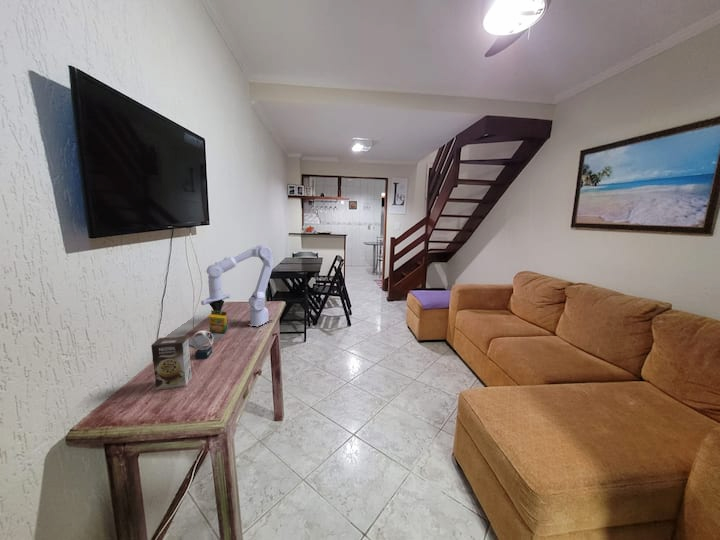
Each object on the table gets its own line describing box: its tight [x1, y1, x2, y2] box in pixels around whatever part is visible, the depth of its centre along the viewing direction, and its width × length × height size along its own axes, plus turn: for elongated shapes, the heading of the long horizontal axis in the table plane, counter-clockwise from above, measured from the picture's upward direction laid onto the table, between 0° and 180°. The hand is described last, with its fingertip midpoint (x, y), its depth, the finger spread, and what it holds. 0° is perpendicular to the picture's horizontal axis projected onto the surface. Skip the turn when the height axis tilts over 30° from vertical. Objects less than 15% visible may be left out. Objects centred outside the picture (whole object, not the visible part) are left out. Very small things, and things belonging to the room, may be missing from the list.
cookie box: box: [150, 335, 193, 391], centre depth 91 cm, size 9×6×16 cm
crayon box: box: [208, 309, 228, 334], centre depth 132 cm, size 7×3×12 cm, turn 97°
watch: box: [190, 329, 215, 360], centre depth 110 cm, size 6×8×11 cm
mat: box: [188, 332, 224, 348], centre depth 126 cm, size 14×10×1 cm
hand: (217, 315), depth 133 cm, fingers closed
